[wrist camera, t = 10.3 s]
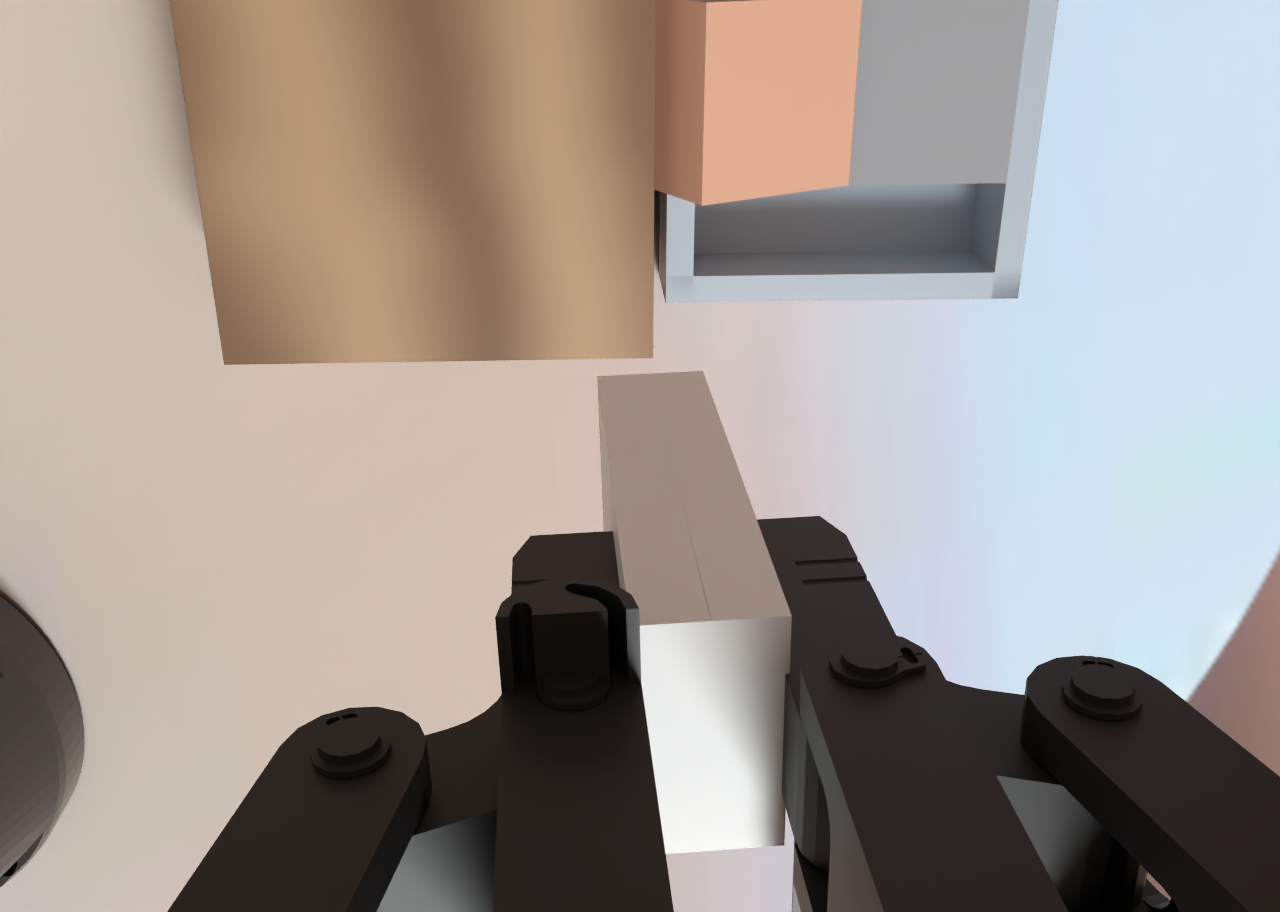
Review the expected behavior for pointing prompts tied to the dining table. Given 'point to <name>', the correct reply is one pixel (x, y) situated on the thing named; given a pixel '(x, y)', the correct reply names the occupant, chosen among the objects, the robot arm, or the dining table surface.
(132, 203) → the dining table surface
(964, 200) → the tray
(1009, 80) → the slate-grey tile
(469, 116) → the brown block
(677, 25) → the terracotta tile
